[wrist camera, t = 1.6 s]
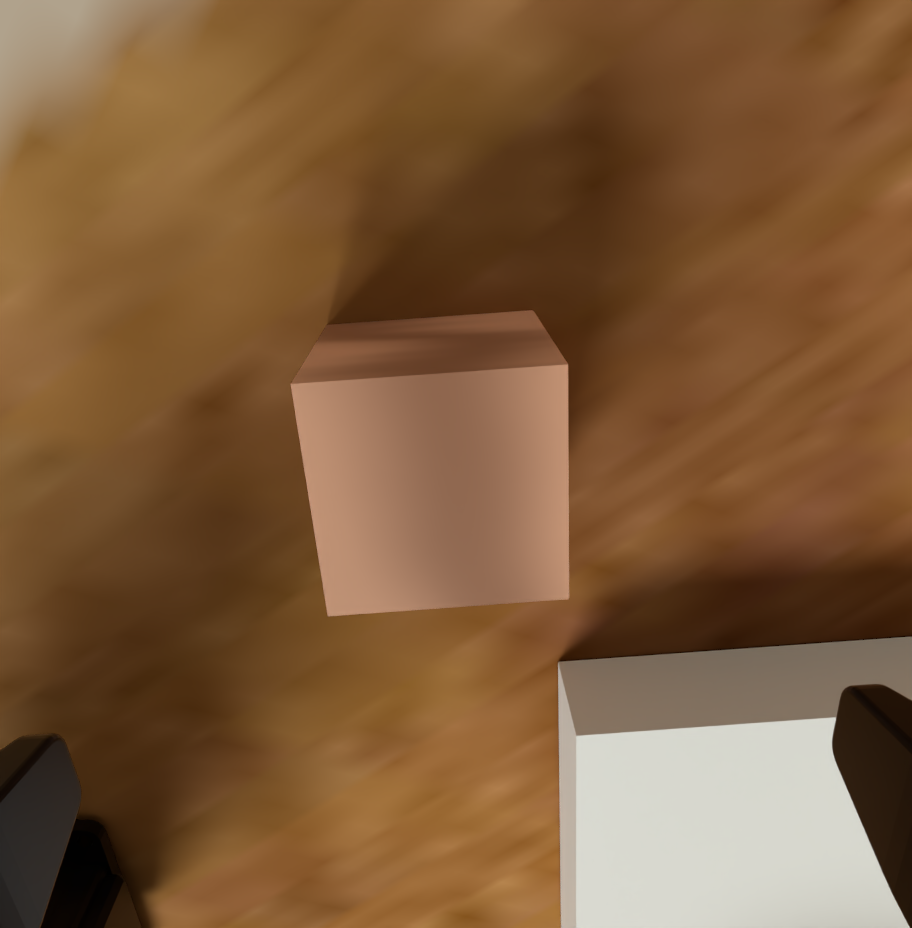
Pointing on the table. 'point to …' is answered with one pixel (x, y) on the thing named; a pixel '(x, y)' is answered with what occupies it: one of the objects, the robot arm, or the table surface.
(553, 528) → the terracotta block
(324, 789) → the table surface
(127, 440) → the table surface
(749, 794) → the white slab
